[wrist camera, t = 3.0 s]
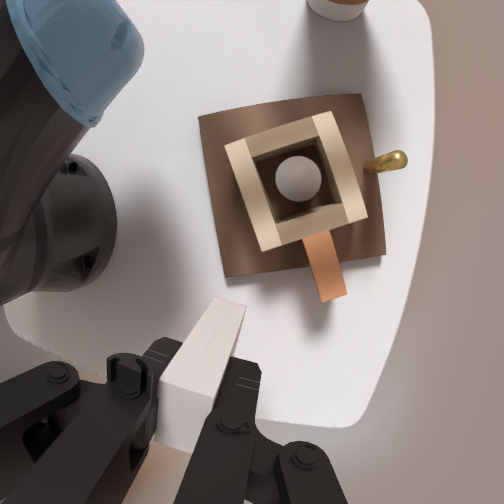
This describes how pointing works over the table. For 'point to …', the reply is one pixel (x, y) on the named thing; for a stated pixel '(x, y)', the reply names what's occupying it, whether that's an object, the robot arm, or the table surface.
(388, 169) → the dowel
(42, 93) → the robot arm
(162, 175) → the table surface
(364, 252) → the base
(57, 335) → the table surface
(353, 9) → the coffee cup
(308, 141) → the hollow square frame
